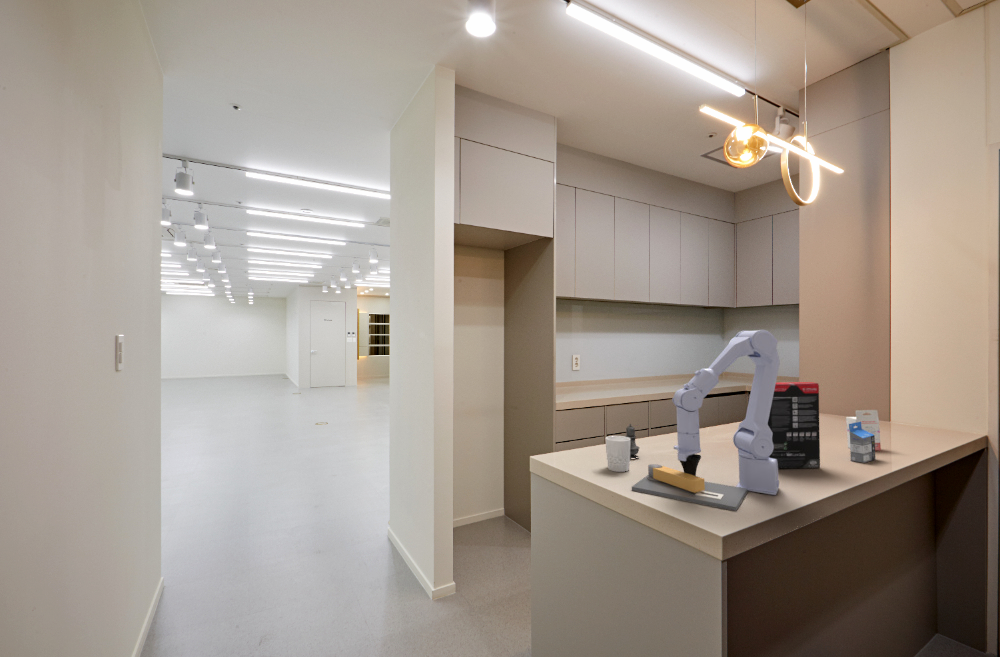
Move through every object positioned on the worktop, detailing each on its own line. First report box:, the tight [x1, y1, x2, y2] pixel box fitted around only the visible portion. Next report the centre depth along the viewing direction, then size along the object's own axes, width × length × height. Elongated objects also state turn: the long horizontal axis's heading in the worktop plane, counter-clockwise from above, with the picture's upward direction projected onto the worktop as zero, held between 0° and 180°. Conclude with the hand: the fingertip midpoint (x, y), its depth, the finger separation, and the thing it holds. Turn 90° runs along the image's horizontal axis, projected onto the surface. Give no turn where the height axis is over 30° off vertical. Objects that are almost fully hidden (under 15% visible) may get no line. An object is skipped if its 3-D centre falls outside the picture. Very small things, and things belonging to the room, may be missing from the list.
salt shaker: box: [625, 423, 640, 458], centre depth 155 cm, size 6×6×12 cm
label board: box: [631, 474, 748, 512], centre depth 119 cm, size 26×16×1 cm, turn 52°
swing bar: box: [647, 463, 705, 493], centre depth 122 cm, size 17×4×3 cm, turn 27°
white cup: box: [604, 435, 631, 473], centre depth 141 cm, size 8×8×10 cm
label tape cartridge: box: [849, 422, 877, 464], centre depth 146 cm, size 9×4×12 cm, turn 119°
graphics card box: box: [768, 381, 821, 469], centre depth 140 cm, size 17×7×27 cm, turn 92°
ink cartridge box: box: [845, 409, 882, 452], centre depth 160 cm, size 9×5×15 cm, turn 90°
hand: (690, 481), depth 121 cm, fingers closed, pressing on swing bar
